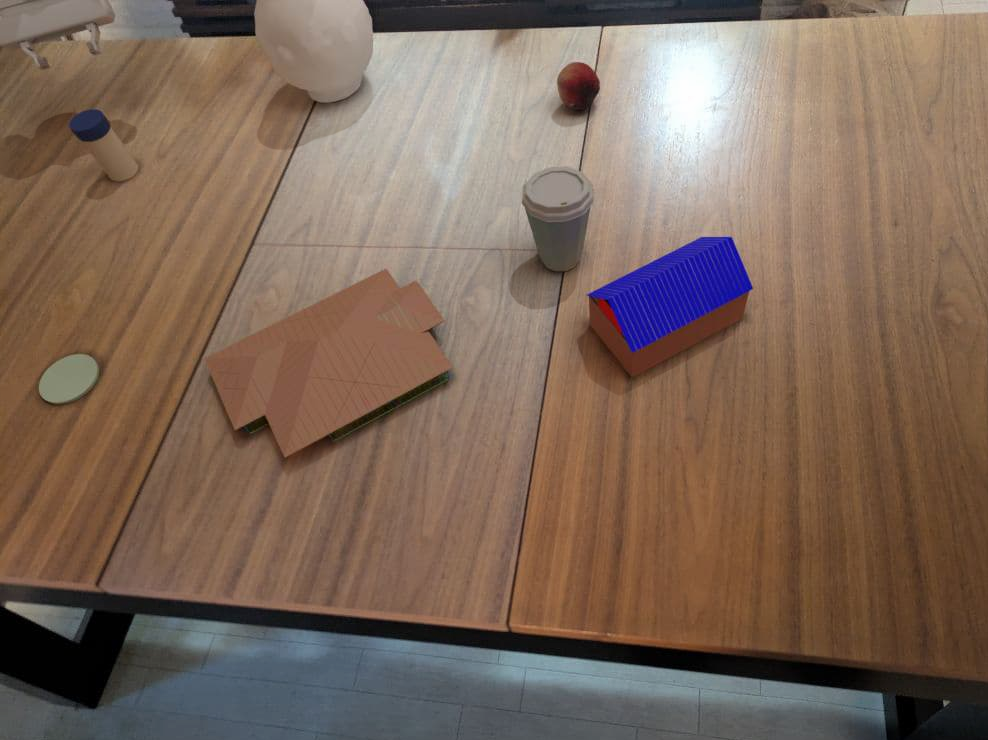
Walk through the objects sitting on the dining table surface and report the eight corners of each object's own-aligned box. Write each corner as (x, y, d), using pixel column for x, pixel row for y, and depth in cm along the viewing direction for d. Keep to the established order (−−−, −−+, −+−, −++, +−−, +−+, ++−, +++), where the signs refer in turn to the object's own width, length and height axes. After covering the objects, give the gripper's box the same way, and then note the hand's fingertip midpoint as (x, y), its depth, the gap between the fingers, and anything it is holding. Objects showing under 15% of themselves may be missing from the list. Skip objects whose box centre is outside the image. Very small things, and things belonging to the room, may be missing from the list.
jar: (109, 184, 133) (71, 135, 124) (109, 166, 136) (72, 117, 127) (138, 176, 134) (102, 127, 124) (138, 158, 137) (103, 108, 127)
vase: (361, 125, 136) (302, -40, 110) (268, 109, 141) (191, -51, 116) (403, 67, 144) (357, -98, 119) (313, 54, 150) (251, -106, 124)
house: (745, 318, 104) (759, 263, 94) (631, 380, 100) (633, 330, 90) (696, 267, 110) (705, 211, 100) (586, 324, 106) (584, 271, 96)
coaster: (39, 411, 107) (36, 409, 106) (43, 366, 111) (40, 364, 111) (98, 394, 107) (96, 391, 107) (100, 349, 112) (97, 347, 111)
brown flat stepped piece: (473, 371, 103) (463, 337, 96) (263, 484, 96) (236, 457, 90) (407, 274, 114) (393, 238, 107) (214, 370, 108) (187, 338, 101)
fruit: (585, 87, 135) (583, 48, 129) (608, 107, 132) (607, 68, 125) (551, 104, 134) (547, 64, 127) (573, 124, 130) (571, 85, 123)
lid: (76, 145, 125) (67, 134, 123) (77, 125, 128) (69, 114, 127) (110, 136, 126) (102, 125, 124) (111, 116, 129) (103, 105, 127)
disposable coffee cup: (524, 240, 116) (513, 167, 103) (587, 226, 116) (584, 151, 103) (537, 288, 110) (527, 217, 98) (604, 273, 111) (602, 200, 98)
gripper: (-37, -12, 120) (2, 72, 124) (83, -44, 123) (118, 40, 126) (-15, 2, 127) (21, 81, 130) (99, -29, 129) (132, 50, 132)
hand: (70, 61), depth 128 cm, fingers open, 8 cm apart
